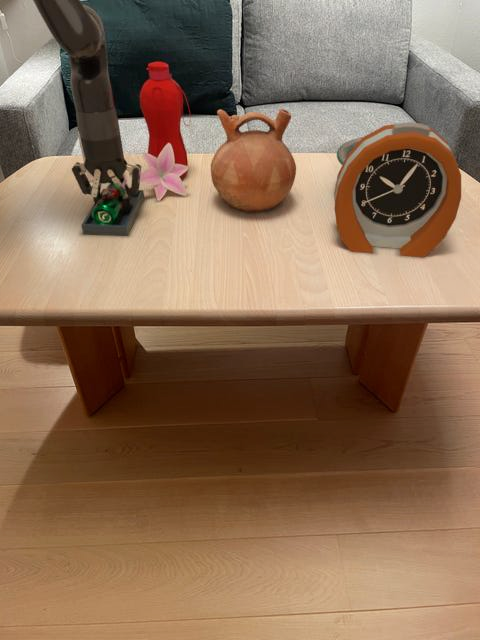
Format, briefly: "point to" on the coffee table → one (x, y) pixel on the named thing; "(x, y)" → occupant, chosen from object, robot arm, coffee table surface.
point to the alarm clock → (398, 191)
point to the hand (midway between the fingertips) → (114, 211)
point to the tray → (122, 223)
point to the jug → (253, 163)
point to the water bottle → (163, 112)
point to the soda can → (108, 206)
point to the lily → (163, 173)
